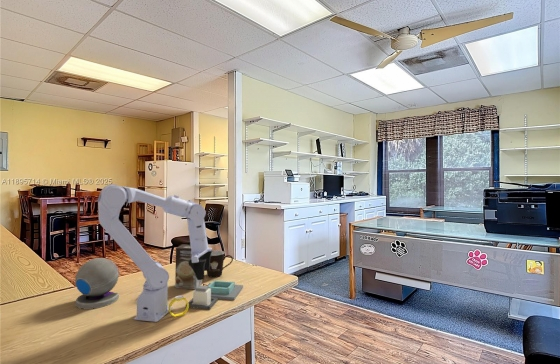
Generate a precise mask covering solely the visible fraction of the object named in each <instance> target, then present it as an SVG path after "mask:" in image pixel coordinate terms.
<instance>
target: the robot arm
mask: <svg viewBox="0 0 560 364" xmlns="http://www.w3.org/2000/svg"><path fill="white" fill-rule="evenodd" d="M97 201H98V202H97V205H98V208H97V209H98V223H99V224H100V226H101V227H102V228H103V229H104V230H105V232H106V233H107V234H108V235H109V236H110V237H111V239H113V240H114V241H115V242H116V244H117V245H118V246H119V247H120V248H121V250H123V252H124V253H125V254H126V255H127V256H128V257H129V259H131V260H132V262H133V263H134V264H135V265H136V266H137V267H138V269H139V270H140V271H141V273H142V276H143V278H144V279H145V281H144V284H142V287H143V288H142V291H141V293H140V294H139V295H138V297H137V298H136V316H135V317H134V318H133V320H136V321H142V322H143V321H144V322H145V321H147V322H154V323H155V322H156V323H157V322H160V321H161V319H163V318H164V317H165V316H166V315H167V314H169V313H170V312H169V305H168V286H169V285H168V282H169V280H170V275H169V274H170V273H169V272H168V271H167V270H166V269H165V268H164V266H163V265H162V264H161V263H160V262H159V261H155V260H154V259H153V258H152V257H151V256H150V254H149V253H148V252H147V251H146V250H145V249H144V248H143V246H142V245H141V244H140V242H138V241H137V239H136V238H135V237H134V236H133V235H132V234H131V232H130V231H129V230H128V229H127V228H126V226H124V224H123V223H122V221H121V220H120V219H119V217H120V213H121V210H122V207H123V206H124V204H125V203H128V204H130V203H134V202H142V203H145V204H149V205H152V206H156V207H161V208H162V210H163V212H164V213H166V214H170V215H174V216H177V217H180V218H185V219H186V221H187V230H188V235H189V236H188V237H189V245H191V254H192V257H191V260H190V261H189V262H188V263H189V265H190V266H191V268H192V269H193V271H194V273H195V275H196V278H197V280H202V281H203V280H204V279H205V272H207V271H208V270H209V268H210V257H211V253H212V251H213V247H209V243H208V236H207V229H206V223H205V217H206V215H207V213H206V212H207V210H205V208H204V206H203V205H202V204H199V203H196V202H194V201H193V200H190V199H189V200H187V199H186V200H185V199H183V198H180V196H179V195H175V194H174V195H169V196H167V197H163V196H159V195H157V194H154V193H151V192H147V191H145V190H142V189H138V188H135V187H131V186H130V187H129V186H123V185H122V186H119V185H117V184H107V185H105V186H104V187H103V188H102V189H101V191H100V193H99V196H98V199H97ZM173 308H174V307H173V306H171V310H173Z"/></svg>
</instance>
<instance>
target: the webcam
mask: <svg viewBox="0 0 560 364" xmlns="http://www.w3.org/2000/svg"><path fill="white" fill-rule="evenodd" d="M119 275H120V272H119V267H118V266H117V264H116V263H115V262H114V261H112V260H111V259H109V258H104V257H95V258H92V259H89V260H88V261H86V262H85V263H83V264H82V265H81V266H80V267H79V268H78V271H77V273H76V275H75V278H74V281H75V282H74V283H75V287H76V289H77V290H78V292H79V293H81V295H79V296H78V297H77V298H76V299H75V307H76V306H77V307H79V308H78V309H81V308H84V309H83V310H93V308H94V309H99V308H102V307H107V306H108V305H109V306H110V305H111V304H114V303H116V302H117V301H118V300H119V299H120V294H119V292H113V291H111V290H113V288H115V287H116V285H117V284H118V281H119ZM77 307H76V308H77Z"/></svg>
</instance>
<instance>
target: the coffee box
mask: <svg viewBox="0 0 560 364" xmlns="http://www.w3.org/2000/svg"><path fill="white" fill-rule="evenodd" d="M191 257H192V254H191V244H186V243H185V244H183V243H182V244H180V245H178V246H177V247H176V248H175V269H174V271H175V274H174V276H175V278H174V279H175V280H174V281H175V282H174V288H175V289H184V290H185V289H188V290H195V289H196V288H197V287H198V286H202V283H203V280H197V278H196V275H195V273H194V271H193V269H192V268H191V266H190V265H189V263H188V262H189V261H190V260H191Z"/></svg>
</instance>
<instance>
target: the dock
mask: <svg viewBox="0 0 560 364" xmlns="http://www.w3.org/2000/svg"><path fill="white" fill-rule="evenodd" d="M206 286H209V287H208V288H210V289H211V297H212V298H218V300H225V301H226V300H227V301H235V300H236V298H237V297H238V295H239V294H240V293H241V292H242V290H243V289H244V285H243V284H236V282H235V281H225V280H213V281H212V282H209V283H208V284H207V285H206Z"/></svg>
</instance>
